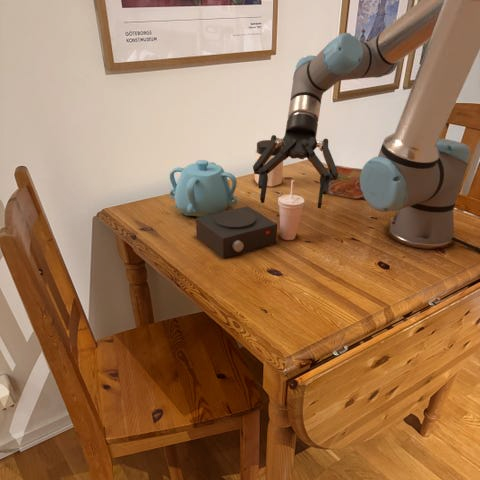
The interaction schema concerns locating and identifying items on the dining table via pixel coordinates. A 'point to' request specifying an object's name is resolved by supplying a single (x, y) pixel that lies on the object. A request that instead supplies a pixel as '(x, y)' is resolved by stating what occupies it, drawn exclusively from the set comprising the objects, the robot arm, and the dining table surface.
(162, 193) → the dining table surface
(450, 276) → the dining table surface
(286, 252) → the dining table surface
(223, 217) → the hot plate
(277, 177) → the jar
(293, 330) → the dining table surface
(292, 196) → the smoothie
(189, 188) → the decorative pot
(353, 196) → the tin
